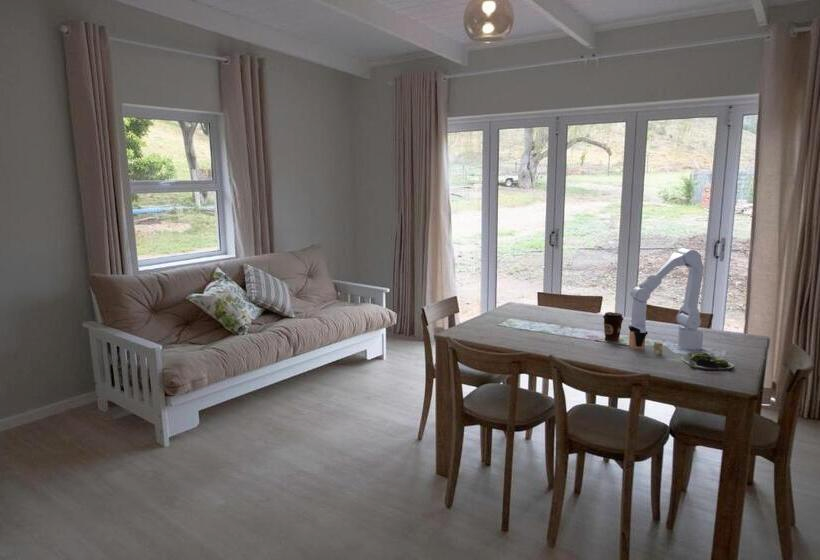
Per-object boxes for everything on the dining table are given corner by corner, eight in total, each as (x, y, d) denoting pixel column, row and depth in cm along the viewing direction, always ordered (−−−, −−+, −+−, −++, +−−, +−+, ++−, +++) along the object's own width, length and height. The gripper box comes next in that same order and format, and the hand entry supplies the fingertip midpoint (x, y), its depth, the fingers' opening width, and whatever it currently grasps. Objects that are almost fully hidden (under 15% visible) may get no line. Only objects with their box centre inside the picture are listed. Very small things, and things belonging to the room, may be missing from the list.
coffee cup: (608, 344, 250) (610, 316, 248) (598, 339, 258) (599, 312, 256) (625, 342, 252) (627, 314, 250) (614, 337, 260) (615, 310, 258)
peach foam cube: (641, 345, 246) (641, 331, 245) (644, 349, 241) (645, 334, 239) (628, 345, 246) (629, 331, 245) (632, 349, 241) (633, 334, 240)
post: (659, 353, 235) (660, 341, 234) (661, 355, 233) (662, 343, 232) (653, 353, 235) (654, 341, 235) (655, 354, 233) (656, 343, 232)
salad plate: (669, 357, 232) (670, 346, 231) (710, 356, 233) (711, 346, 232) (695, 373, 213) (696, 361, 212) (740, 372, 214) (741, 360, 213)
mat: (665, 346, 246) (665, 345, 246) (680, 358, 229) (680, 357, 229) (626, 345, 247) (626, 344, 247) (637, 357, 231) (637, 356, 231)
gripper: (624, 310, 248) (622, 339, 251) (634, 318, 234) (632, 349, 237) (641, 310, 248) (639, 339, 250) (651, 318, 233) (649, 349, 236)
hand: (636, 344), depth 243 cm, fingers closed on peach foam cube, 5 cm apart
